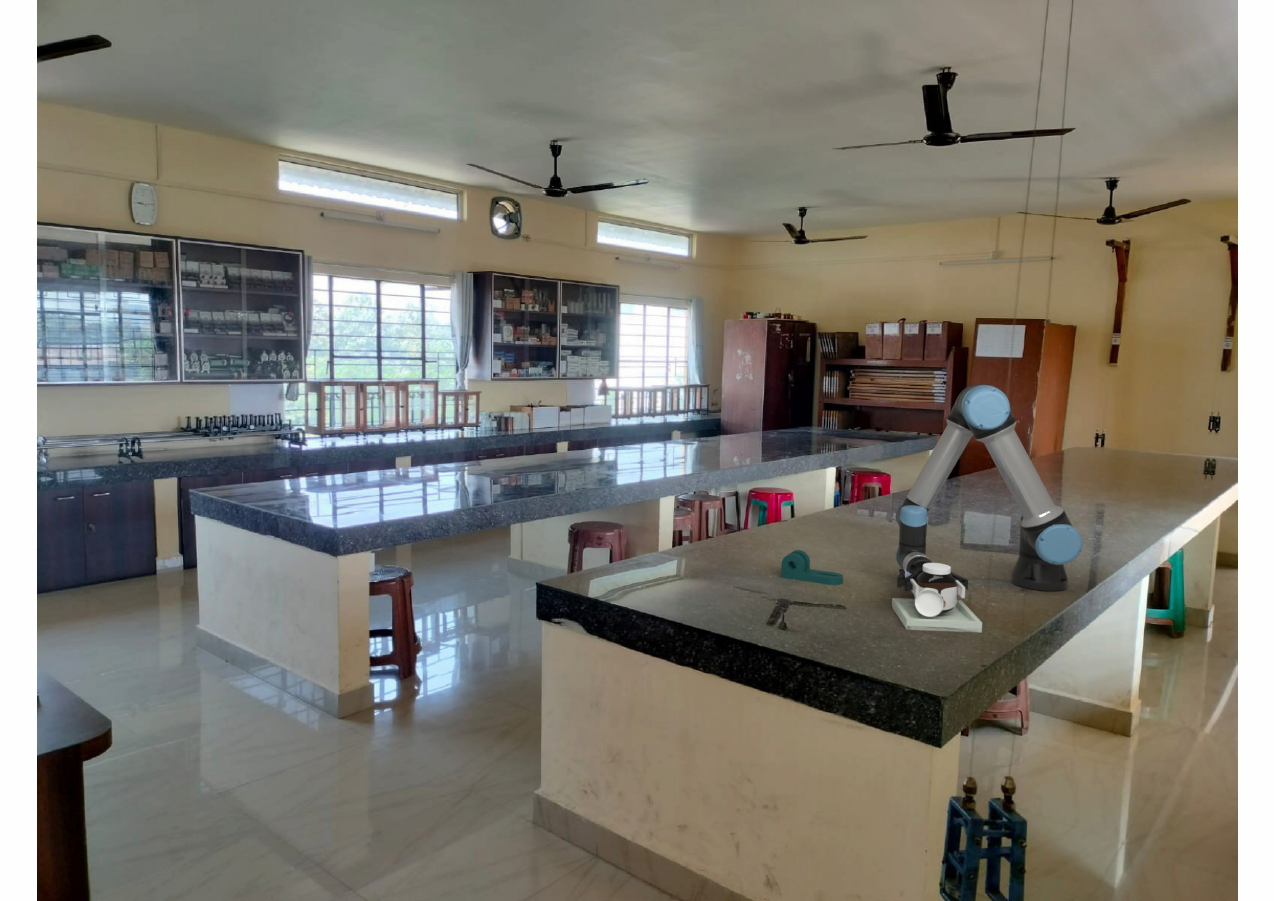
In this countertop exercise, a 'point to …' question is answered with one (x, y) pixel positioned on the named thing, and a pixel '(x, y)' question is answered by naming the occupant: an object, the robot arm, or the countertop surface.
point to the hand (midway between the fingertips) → (940, 592)
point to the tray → (936, 618)
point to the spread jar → (935, 590)
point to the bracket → (806, 570)
